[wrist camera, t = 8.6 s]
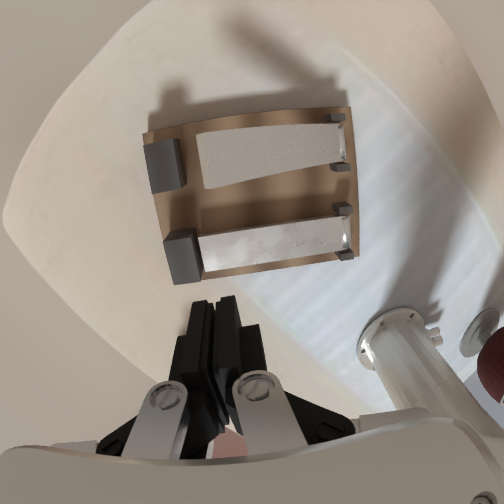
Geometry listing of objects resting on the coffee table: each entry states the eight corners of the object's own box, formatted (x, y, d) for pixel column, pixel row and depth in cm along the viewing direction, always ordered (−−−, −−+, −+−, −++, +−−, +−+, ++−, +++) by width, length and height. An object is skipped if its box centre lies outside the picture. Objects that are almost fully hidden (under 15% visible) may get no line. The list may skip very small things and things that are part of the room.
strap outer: (334, 124, 28) (345, 123, 27) (338, 159, 30) (349, 160, 29) (194, 135, 19) (203, 132, 18) (203, 188, 21) (213, 189, 20)
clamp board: (344, 108, 30) (363, 103, 25) (353, 250, 36) (370, 267, 31) (147, 134, 30) (131, 133, 25) (177, 276, 36) (168, 298, 31)
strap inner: (347, 212, 32) (351, 215, 30) (348, 245, 33) (352, 249, 32) (199, 234, 31) (197, 238, 30) (206, 267, 33) (205, 272, 31)
